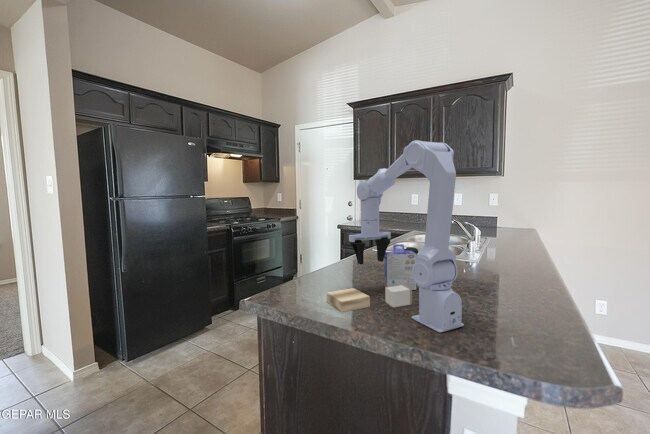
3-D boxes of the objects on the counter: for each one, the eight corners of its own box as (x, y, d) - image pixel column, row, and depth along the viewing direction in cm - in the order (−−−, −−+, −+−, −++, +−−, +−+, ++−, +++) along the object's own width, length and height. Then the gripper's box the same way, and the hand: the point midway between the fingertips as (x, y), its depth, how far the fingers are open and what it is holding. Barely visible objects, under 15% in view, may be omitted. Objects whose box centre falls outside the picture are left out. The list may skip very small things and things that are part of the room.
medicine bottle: (422, 279, 111) (422, 247, 111) (416, 284, 105) (416, 250, 105) (402, 277, 115) (402, 245, 114) (396, 281, 109) (396, 248, 108)
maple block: (369, 306, 85) (369, 296, 85) (341, 312, 82) (341, 301, 81) (353, 297, 94) (353, 287, 93) (326, 302, 90) (326, 292, 89)
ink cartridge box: (412, 285, 105) (412, 243, 104) (417, 290, 99) (417, 246, 98) (383, 285, 105) (383, 244, 104) (386, 291, 99) (386, 246, 98)
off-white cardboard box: (393, 308, 85) (412, 305, 86) (392, 291, 84) (411, 289, 86) (385, 302, 89) (403, 299, 91) (385, 287, 89) (403, 284, 90)
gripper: (381, 218, 103) (381, 257, 104) (343, 220, 97) (344, 262, 98) (394, 219, 97) (394, 261, 98) (355, 221, 91) (356, 267, 91)
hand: (370, 262), depth 97 cm, fingers open, 7 cm apart
